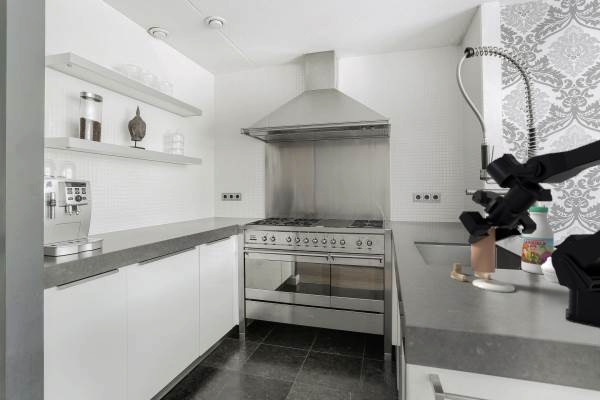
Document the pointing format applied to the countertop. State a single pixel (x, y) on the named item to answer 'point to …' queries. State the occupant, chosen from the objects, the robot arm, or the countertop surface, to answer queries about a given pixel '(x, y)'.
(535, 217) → the milk bottle
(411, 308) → the countertop surface
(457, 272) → the wooden blocks
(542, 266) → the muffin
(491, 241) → the salmon tan cylinder
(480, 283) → the white disc
